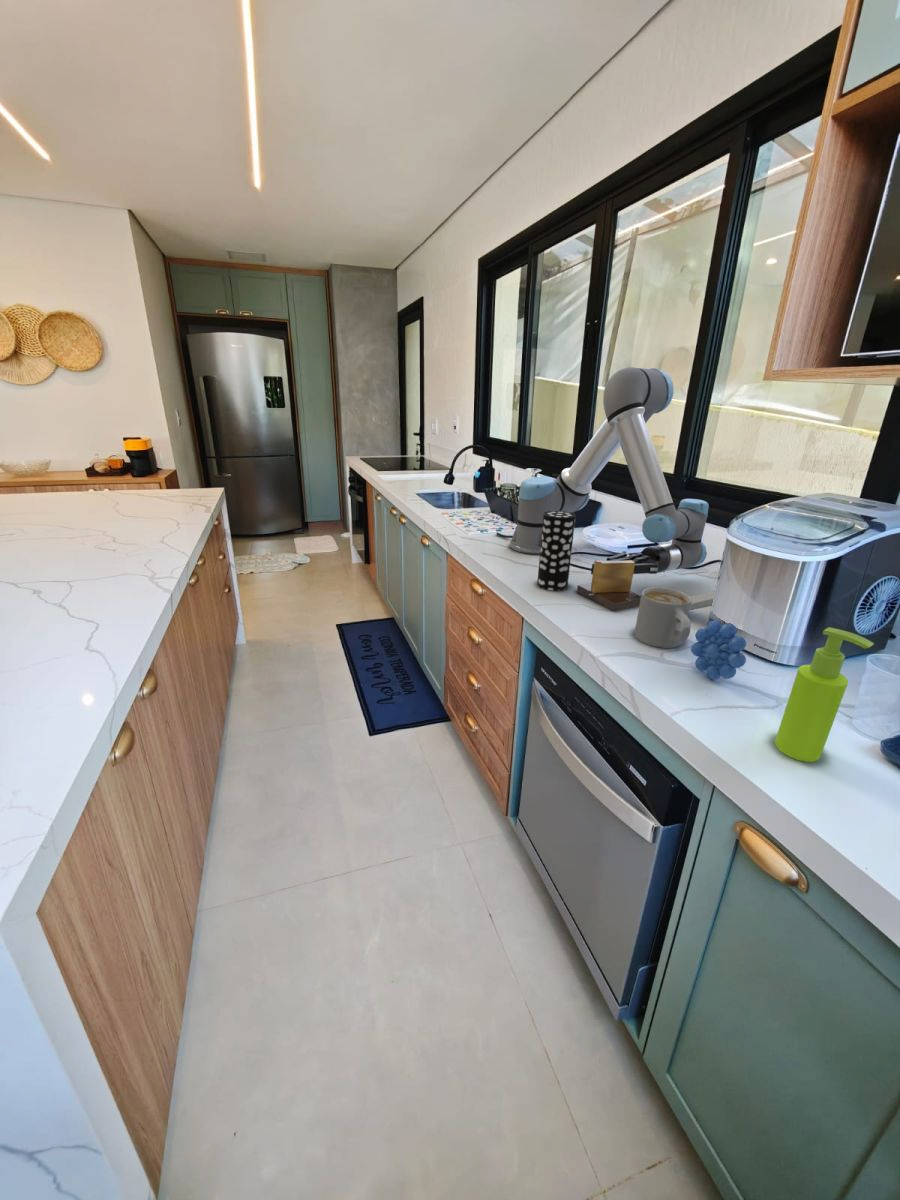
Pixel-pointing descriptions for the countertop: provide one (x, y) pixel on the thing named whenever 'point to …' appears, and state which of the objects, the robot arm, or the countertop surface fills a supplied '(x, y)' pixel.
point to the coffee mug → (663, 617)
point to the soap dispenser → (815, 699)
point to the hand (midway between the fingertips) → (593, 569)
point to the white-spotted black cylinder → (555, 550)
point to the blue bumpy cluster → (719, 650)
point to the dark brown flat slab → (611, 598)
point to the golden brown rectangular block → (612, 576)
